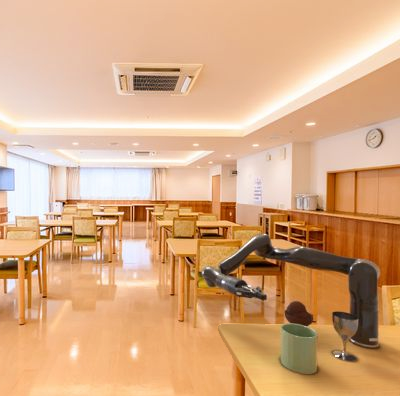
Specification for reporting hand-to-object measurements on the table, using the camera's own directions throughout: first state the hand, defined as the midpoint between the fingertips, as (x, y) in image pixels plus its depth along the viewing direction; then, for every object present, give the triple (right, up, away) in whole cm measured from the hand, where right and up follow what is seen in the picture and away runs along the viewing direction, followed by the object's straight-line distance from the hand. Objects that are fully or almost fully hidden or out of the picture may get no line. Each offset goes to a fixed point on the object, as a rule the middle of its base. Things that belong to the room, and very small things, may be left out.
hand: (265, 297), depth 113 cm
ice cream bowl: (+18, -20, +9) cm, 28 cm away
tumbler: (+6, -19, -12) cm, 24 cm away
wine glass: (+27, -20, -6) cm, 34 cm away
